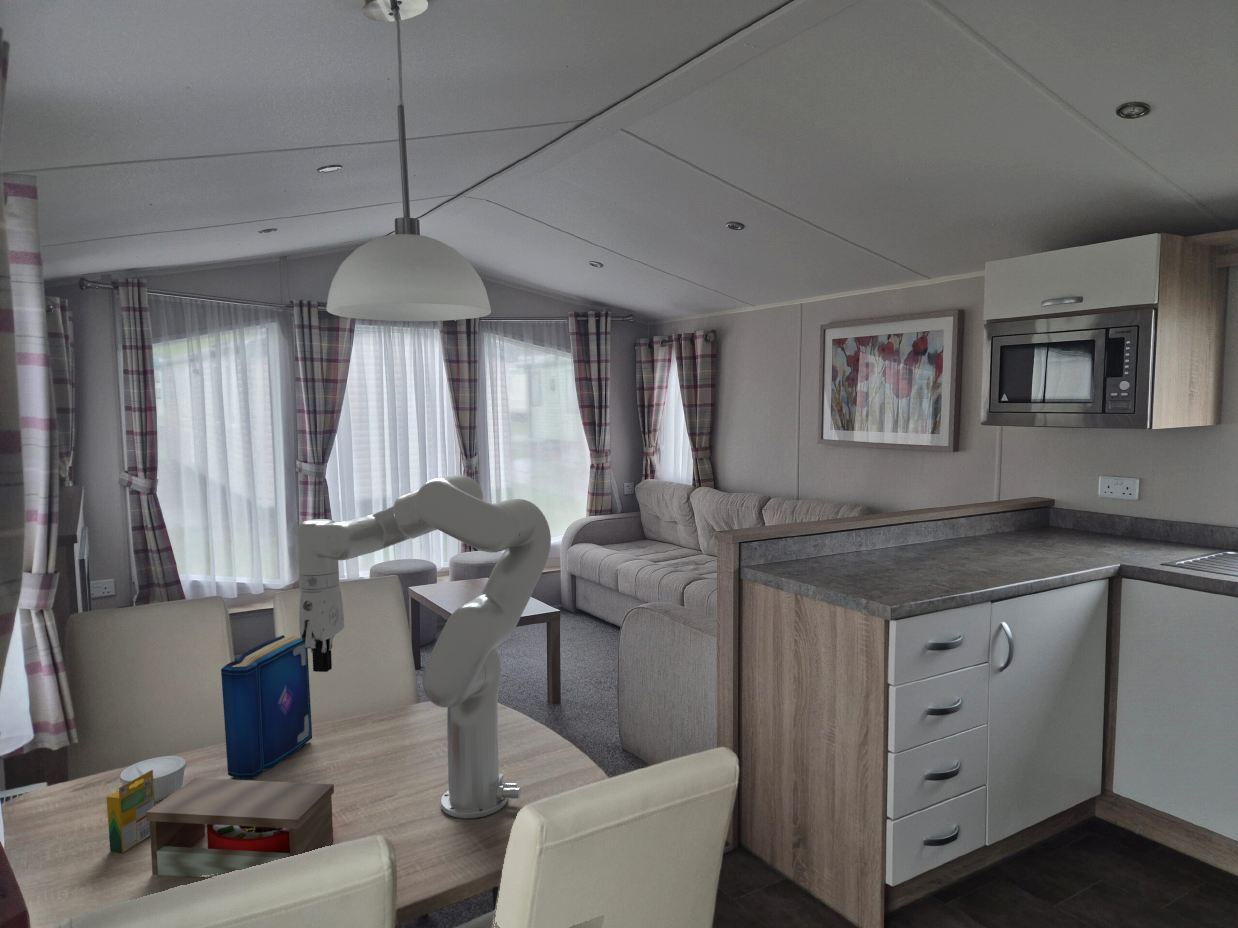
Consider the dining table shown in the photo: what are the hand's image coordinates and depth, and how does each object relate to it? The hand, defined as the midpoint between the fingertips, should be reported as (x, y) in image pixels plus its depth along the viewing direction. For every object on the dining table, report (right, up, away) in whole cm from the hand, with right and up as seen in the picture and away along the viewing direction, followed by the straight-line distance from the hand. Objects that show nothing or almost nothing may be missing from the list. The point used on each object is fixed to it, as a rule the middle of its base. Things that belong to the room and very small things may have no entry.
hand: (322, 670), depth 158 cm
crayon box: (-25, -25, -21) cm, 41 cm away
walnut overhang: (-3, -25, -26) cm, 36 cm away
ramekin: (-32, -24, -3) cm, 40 cm away
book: (-16, -23, +11) cm, 30 cm away
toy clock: (-1, -25, -21) cm, 33 cm away
